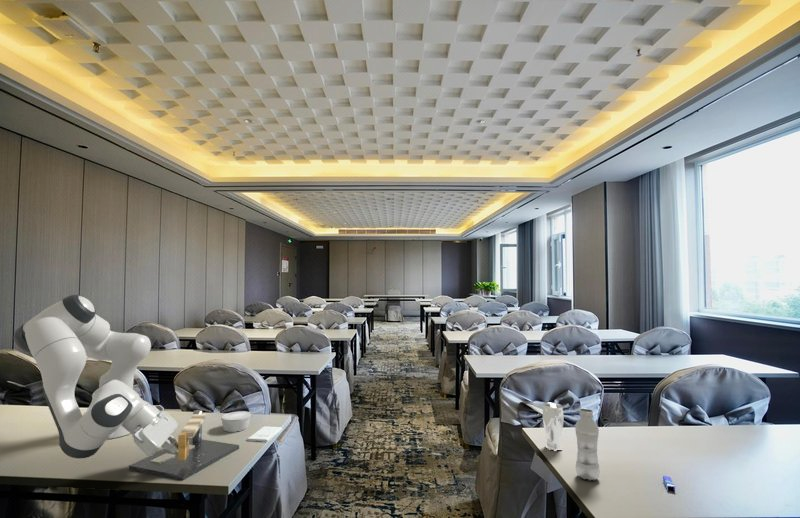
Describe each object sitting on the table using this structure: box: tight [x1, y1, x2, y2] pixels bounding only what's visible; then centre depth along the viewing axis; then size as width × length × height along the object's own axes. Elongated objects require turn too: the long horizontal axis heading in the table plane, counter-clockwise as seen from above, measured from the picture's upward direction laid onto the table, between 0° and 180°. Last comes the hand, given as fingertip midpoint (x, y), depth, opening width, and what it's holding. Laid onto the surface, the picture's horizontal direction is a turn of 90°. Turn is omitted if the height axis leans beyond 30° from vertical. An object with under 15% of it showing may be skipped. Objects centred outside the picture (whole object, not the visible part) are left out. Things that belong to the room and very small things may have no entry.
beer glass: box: [542, 402, 564, 451], centre depth 143 cm, size 7×7×15 cm
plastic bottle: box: [574, 408, 601, 481], centre depth 121 cm, size 6×7×20 cm
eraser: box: [662, 475, 676, 492], centre depth 115 cm, size 2×6×2 cm, turn 156°
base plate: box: [128, 409, 240, 481], centre depth 135 cm, size 22×24×12 cm
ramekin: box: [221, 410, 252, 433], centre depth 163 cm, size 11×11×5 cm
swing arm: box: [177, 412, 207, 462], centre depth 135 cm, size 20×4×8 cm, turn 16°
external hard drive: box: [246, 425, 283, 443], centre depth 155 cm, size 2×8×12 cm
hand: (177, 449), depth 126 cm, fingers closed
